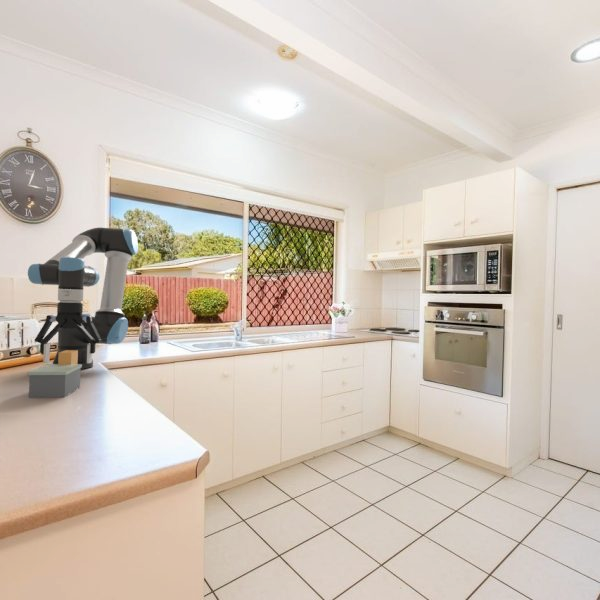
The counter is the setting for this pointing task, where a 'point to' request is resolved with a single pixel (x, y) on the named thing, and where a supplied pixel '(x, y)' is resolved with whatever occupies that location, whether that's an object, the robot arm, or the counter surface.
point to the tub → (54, 384)
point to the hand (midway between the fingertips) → (68, 362)
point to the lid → (60, 365)
